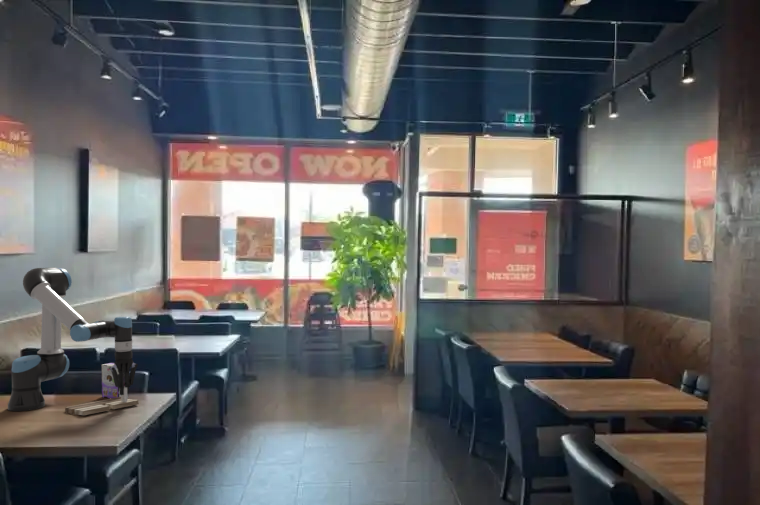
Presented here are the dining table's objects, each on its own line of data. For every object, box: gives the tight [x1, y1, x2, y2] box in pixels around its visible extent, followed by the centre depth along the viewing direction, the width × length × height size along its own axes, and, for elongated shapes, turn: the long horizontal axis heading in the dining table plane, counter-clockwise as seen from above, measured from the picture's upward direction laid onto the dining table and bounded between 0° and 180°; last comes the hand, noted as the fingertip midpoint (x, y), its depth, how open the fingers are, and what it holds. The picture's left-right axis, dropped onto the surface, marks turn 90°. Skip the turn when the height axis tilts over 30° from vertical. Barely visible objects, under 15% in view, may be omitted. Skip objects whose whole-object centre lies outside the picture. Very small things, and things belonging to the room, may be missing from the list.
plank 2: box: [105, 398, 140, 410], centre depth 294 cm, size 8×12×2 cm
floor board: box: [64, 397, 130, 415], centre depth 293 cm, size 8×27×2 cm, turn 141°
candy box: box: [100, 362, 129, 399], centre depth 313 cm, size 14×6×16 cm, turn 58°
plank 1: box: [74, 405, 111, 416], centre depth 283 cm, size 8×12×2 cm
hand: (124, 401), depth 292 cm, fingers closed
